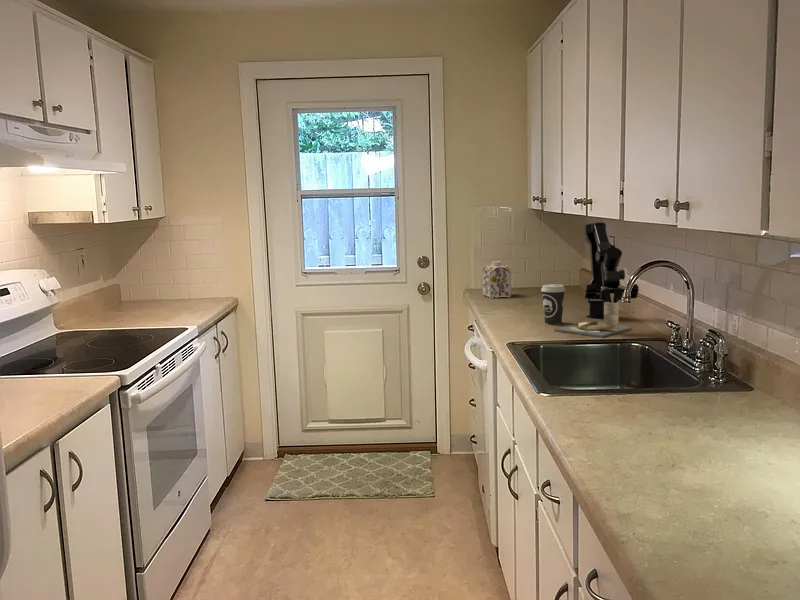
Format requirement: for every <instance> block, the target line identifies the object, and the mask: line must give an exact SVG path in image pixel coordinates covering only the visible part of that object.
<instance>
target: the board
mask: <svg viewBox="0 0 800 600" xmlns="http://www.w3.org/2000/svg"><path fill="white" fill-rule="evenodd" d="M579 323H580V322H578V323H572V324H570V325H564V326H561V327H557V328H554V332H557V331H558V332H559V333H565V334H571V333H572V335H578V334H581V335H580V336H585V335H588V336H587V337H593V336H595V337H594V338H600V337H603V338H606V337H609V336H608V335H610V336H612V335H611V334H613V335H616V334H615V333H617V334H620V333H623V332H627V330H628V331H630V330H632V327H631V326H623V325H618V326H619V331H609V330H582V329H579ZM619 332H620V333H619ZM605 336H606V337H605Z"/></svg>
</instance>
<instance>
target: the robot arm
mask: <svg viewBox="0 0 800 600" xmlns="http://www.w3.org/2000/svg"><path fill="white" fill-rule="evenodd" d="M582 232H583V235H584V239H585V241H586V243H587V244H588V245H589V256H590V269H591V271H590V272H591V273H590V274H591V280H590V282H589V283H588V284H586V285H584V286H585V287H584V298H585V303H588V304H589V309H588V310H589V314H588V315H586V318H595V319H602V318H603V319H604V303H605V302H610V303H618V302H619V301H621V300H622V298H623V294H624V293H623V292H624V290H625V288H626V287H620V285H621V280H622V281H624V280H625V278H626V272H625V269H621V270H619V271H618V267H619V265H620V262H621V260H622V259H621V258H622V255H623V251H622V250H620V249H619V248H618V247H616V245H613V244H611V243H610V241H609V238H608V234H607V224H606V223H605V222H603V221H600V222H599V221H598V222H596V221H595V222H592V223H586V224H585V225H584V226H583V229H582ZM633 284H634V286H633V288H632V291H631V298H630V299H637V298H638V294H639V290H640V289H639V285H638V284H637V283H633ZM611 295H613V297H611Z"/></svg>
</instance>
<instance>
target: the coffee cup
mask: <svg viewBox="0 0 800 600" xmlns="http://www.w3.org/2000/svg"><path fill="white" fill-rule="evenodd" d="M540 291H541V292H542V293H541V295H542V304H543V314H544V323H545V324H546V323H548V324H547V325H560V323H561V324H562V321H563V312H564V311H563V310H564V300H565V292H566V291H567V290H566V288H565V286H564V284H559V283H558V284H557V283H555V284H554V283H552V284H551V283H550V284H542V287H541V289H540Z"/></svg>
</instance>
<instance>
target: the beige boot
mask: <svg viewBox="0 0 800 600" xmlns="http://www.w3.org/2000/svg"><path fill="white" fill-rule="evenodd" d="M619 307H620V304H619V303H618V302H617V303H613V302H612V303H610V302H605V303H604V317H603V322H601V321H596V320H589V321H582V322H578V323H579V329H582V330H609V331H619V326H620V325H619V312H620V311H619V310H620V309H619Z"/></svg>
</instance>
